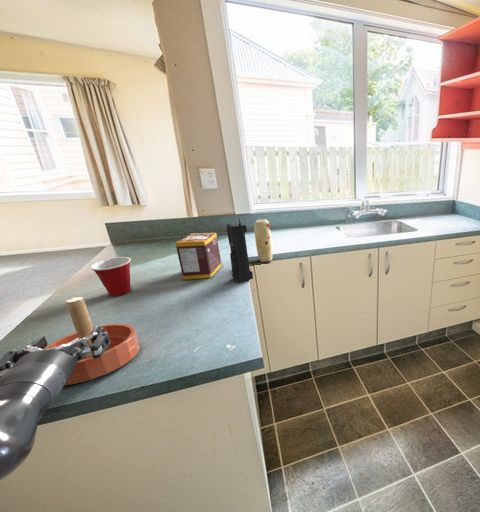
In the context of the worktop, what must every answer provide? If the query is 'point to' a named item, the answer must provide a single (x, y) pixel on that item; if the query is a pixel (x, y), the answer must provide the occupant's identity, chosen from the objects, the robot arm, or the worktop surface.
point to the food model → (263, 240)
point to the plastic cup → (114, 274)
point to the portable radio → (239, 252)
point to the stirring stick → (80, 317)
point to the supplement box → (199, 255)
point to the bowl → (113, 357)
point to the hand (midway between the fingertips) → (72, 334)
